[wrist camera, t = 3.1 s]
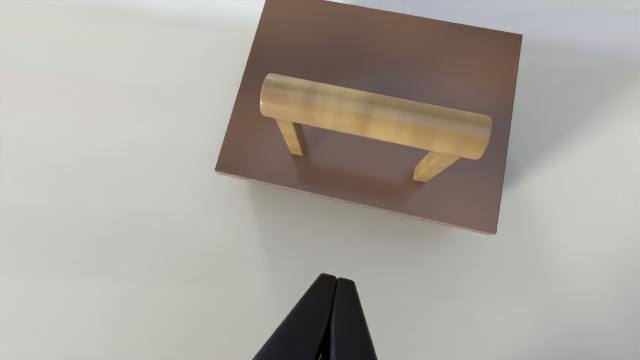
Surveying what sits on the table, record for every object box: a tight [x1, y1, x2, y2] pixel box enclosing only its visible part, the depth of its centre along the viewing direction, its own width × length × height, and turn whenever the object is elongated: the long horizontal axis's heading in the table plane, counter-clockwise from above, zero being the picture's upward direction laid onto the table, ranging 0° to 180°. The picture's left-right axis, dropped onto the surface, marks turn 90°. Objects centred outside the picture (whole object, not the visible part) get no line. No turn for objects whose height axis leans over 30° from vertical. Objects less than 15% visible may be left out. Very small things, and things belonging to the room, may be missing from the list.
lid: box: [215, 0, 523, 235], centre depth 14 cm, size 10×14×7 cm
